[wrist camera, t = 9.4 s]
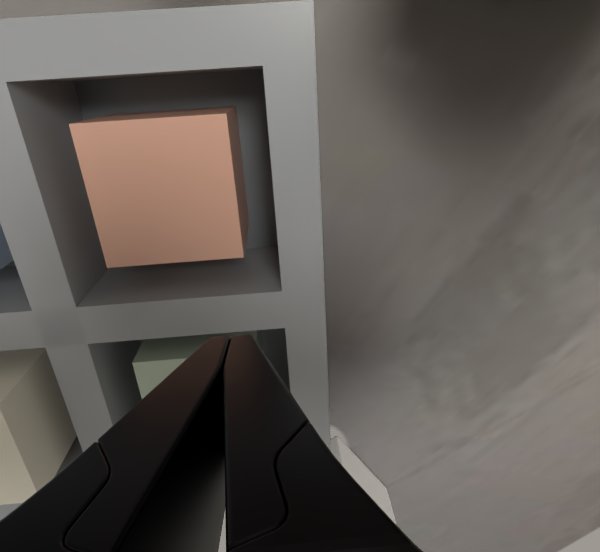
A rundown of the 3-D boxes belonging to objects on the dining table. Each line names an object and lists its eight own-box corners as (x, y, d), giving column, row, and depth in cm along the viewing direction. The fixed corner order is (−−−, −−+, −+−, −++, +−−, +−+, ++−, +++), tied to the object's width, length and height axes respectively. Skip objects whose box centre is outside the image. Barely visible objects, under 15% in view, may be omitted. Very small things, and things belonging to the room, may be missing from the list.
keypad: (301, 22, 17) (313, -1, 12) (320, 411, 26) (332, 490, 21) (-215, 53, 17) (-416, 43, 12) (-24, 441, 25) (-96, 529, 20)
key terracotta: (236, 105, 18) (226, 113, 14) (249, 222, 20) (243, 257, 16) (112, 113, 18) (68, 123, 14) (139, 230, 20) (107, 267, 16)
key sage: (258, 303, 22) (255, 352, 18) (267, 384, 24) (266, 443, 20) (157, 312, 21) (132, 362, 18) (175, 392, 24) (156, 453, 20)
